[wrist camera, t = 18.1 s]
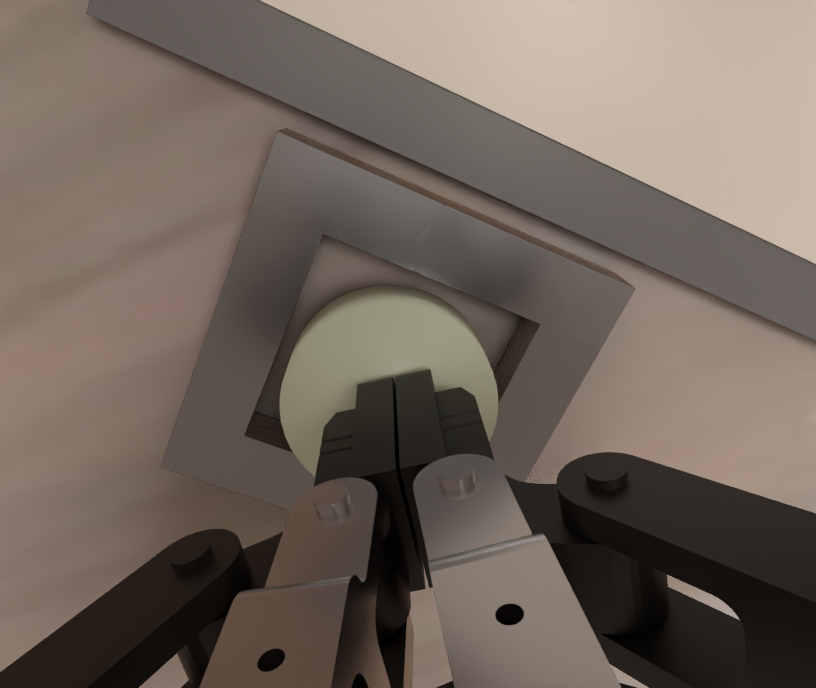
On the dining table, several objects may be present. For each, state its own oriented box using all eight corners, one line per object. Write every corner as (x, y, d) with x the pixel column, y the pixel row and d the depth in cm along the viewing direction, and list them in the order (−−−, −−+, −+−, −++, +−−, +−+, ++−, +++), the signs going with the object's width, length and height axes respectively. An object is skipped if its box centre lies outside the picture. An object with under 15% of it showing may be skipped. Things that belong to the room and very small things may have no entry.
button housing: (175, 441, 16) (160, 467, 15) (285, 127, 14) (276, 131, 12) (467, 540, 18) (473, 570, 16) (616, 273, 15) (635, 288, 14)
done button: (261, 429, 15) (249, 461, 13) (331, 253, 13) (326, 270, 12) (437, 491, 16) (443, 527, 14) (521, 331, 14) (536, 355, 13)
